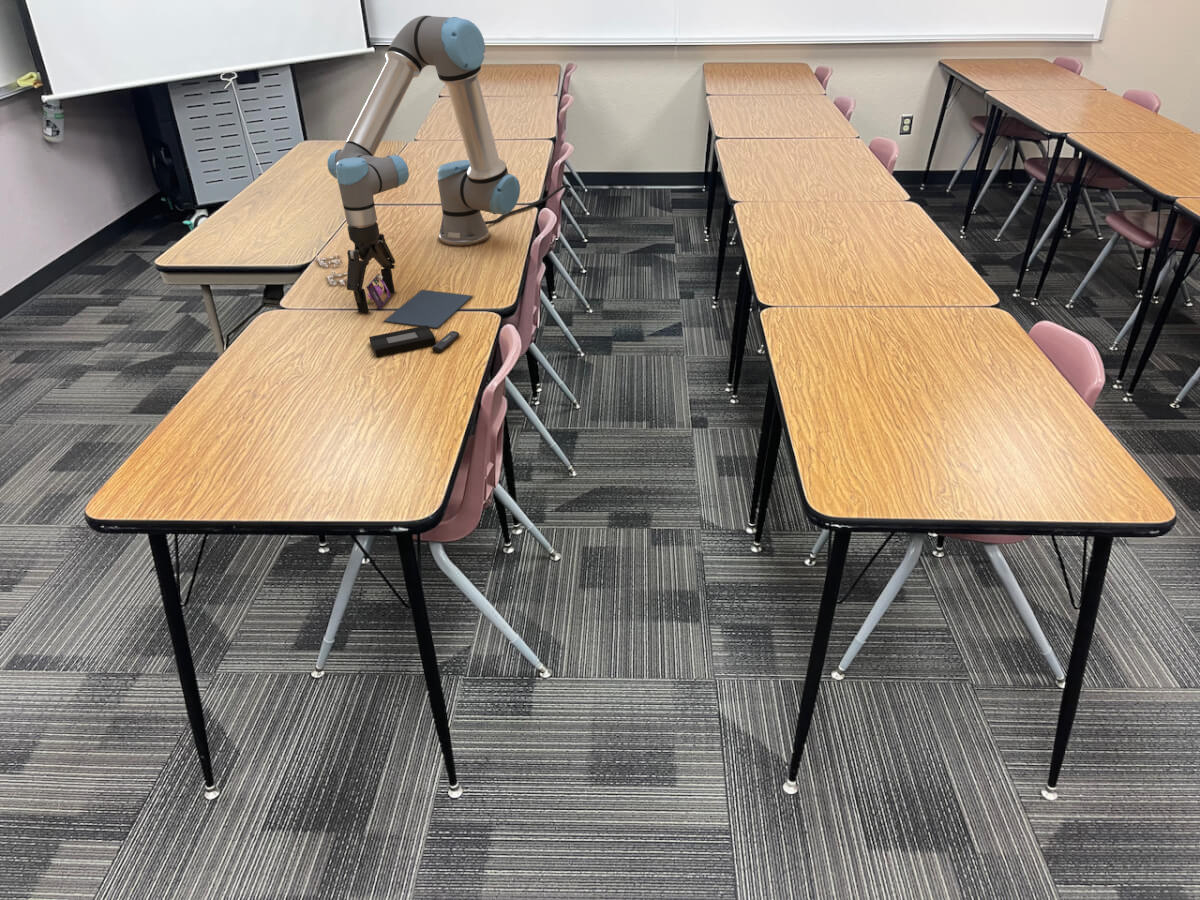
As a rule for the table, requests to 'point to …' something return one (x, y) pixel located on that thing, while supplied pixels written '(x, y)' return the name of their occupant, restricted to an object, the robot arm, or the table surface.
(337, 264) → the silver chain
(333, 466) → the table surface
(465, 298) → the mat
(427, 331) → the vhs tape
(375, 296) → the game card
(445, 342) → the usb stick
